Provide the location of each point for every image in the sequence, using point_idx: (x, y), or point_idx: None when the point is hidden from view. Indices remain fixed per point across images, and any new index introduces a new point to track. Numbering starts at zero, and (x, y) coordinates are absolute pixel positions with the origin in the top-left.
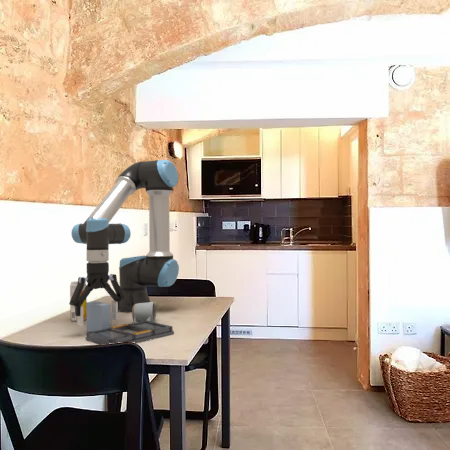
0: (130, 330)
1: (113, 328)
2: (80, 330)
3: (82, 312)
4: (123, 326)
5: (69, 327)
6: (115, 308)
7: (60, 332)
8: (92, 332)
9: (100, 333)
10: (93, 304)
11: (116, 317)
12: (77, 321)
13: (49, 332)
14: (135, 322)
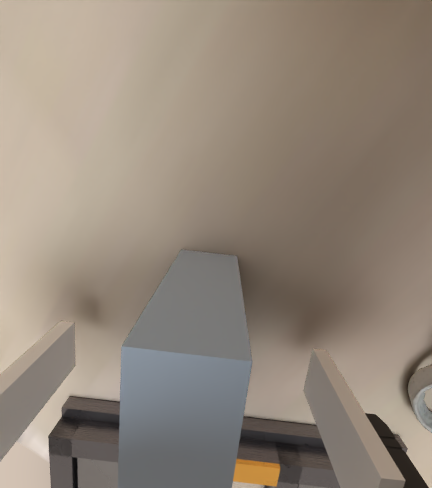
0: (257, 484)
1: None
2: (157, 221)
3: (7, 442)
4: (246, 476)
5: (159, 85)
6: (333, 461)
7: (55, 165)
8: (68, 454)
9: (96, 476)
10: (120, 473)
11: (312, 403)
12: (45, 336)
13: (8, 105)
14: (413, 391)
